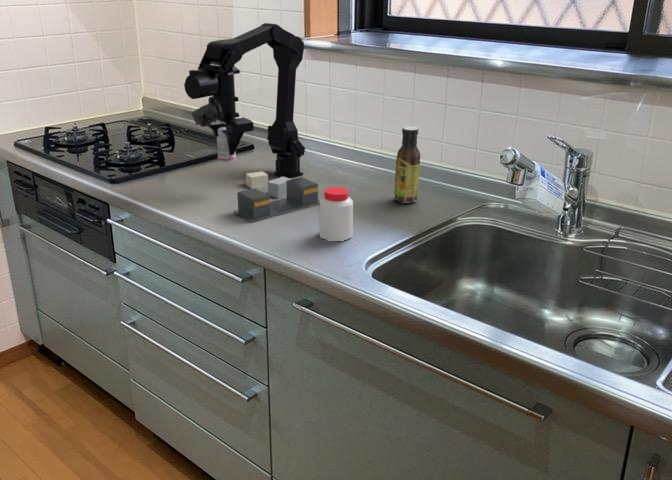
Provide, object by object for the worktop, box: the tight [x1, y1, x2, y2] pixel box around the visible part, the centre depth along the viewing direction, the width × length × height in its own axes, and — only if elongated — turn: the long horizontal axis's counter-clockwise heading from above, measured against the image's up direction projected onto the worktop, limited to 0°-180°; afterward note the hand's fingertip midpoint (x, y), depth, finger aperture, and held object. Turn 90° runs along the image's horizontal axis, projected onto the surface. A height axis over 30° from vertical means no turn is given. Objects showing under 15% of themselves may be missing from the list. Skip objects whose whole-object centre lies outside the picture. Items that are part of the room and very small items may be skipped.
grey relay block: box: [267, 176, 292, 199], centre depth 183 cm, size 6×4×4 cm, turn 141°
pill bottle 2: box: [319, 186, 354, 241], centre depth 155 cm, size 8×8×11 cm
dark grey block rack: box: [233, 176, 321, 224], centre depth 172 cm, size 22×8×6 cm, turn 130°
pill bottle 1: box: [216, 127, 237, 163], centre depth 177 cm, size 5×5×8 cm
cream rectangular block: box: [245, 171, 269, 189], centre depth 190 cm, size 5×4×4 cm
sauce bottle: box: [393, 125, 421, 203], centre depth 176 cm, size 6×6×20 cm
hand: (226, 152), depth 178 cm, fingers closed on pill bottle 1, 5 cm apart
